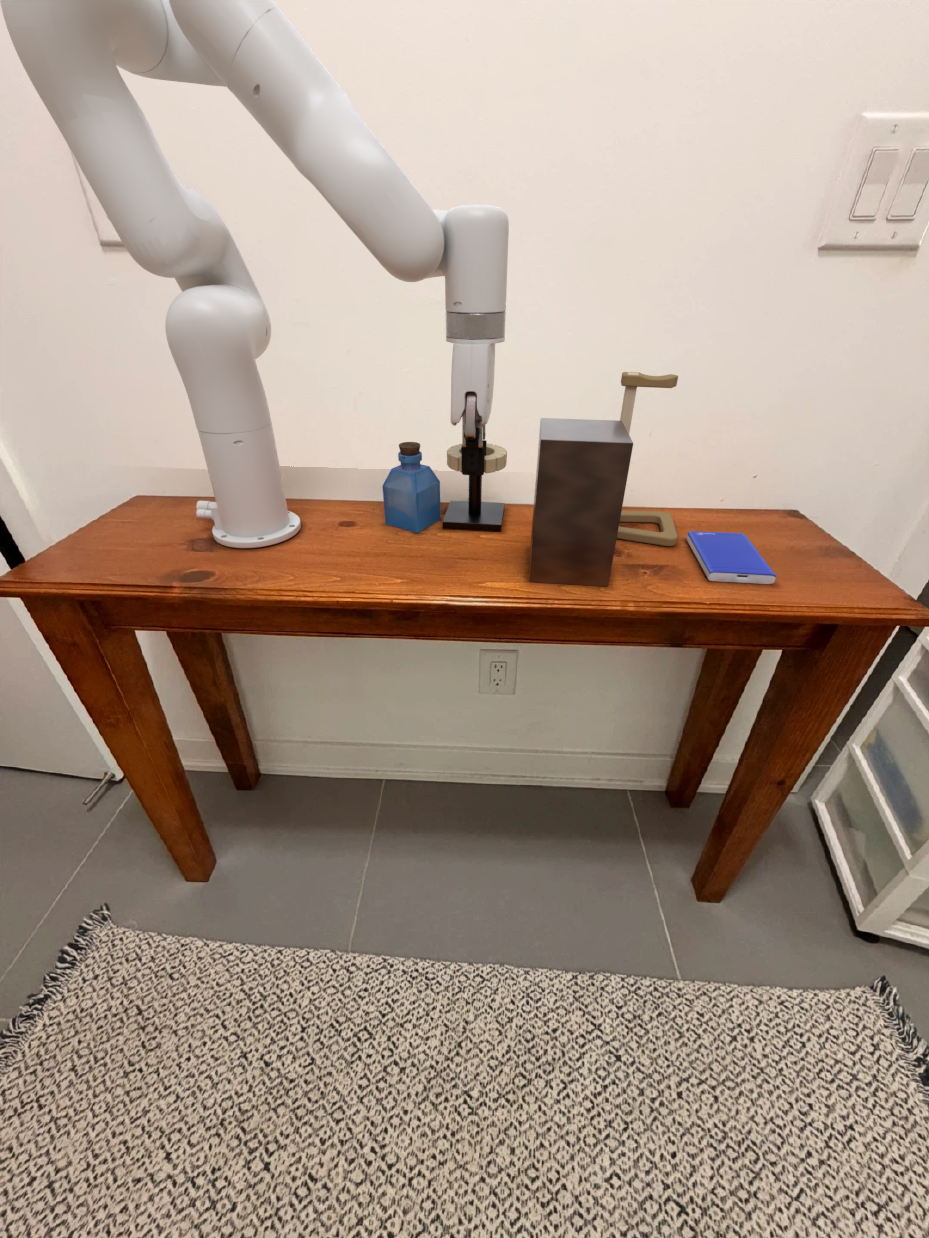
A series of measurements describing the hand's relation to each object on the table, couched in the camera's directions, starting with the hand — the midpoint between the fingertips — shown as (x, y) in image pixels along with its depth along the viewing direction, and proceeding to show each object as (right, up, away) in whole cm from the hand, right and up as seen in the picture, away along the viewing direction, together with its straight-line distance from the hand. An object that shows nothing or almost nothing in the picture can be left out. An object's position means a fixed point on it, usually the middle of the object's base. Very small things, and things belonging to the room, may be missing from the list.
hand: (473, 470), depth 79 cm
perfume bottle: (-9, -6, +7) cm, 13 cm away
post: (0, -6, +8) cm, 10 cm away
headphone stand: (+25, -8, +5) cm, 27 cm away
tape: (+1, +2, +3) cm, 3 cm away
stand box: (+13, -14, -5) cm, 20 cm away
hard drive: (+35, -14, -4) cm, 38 cm away
